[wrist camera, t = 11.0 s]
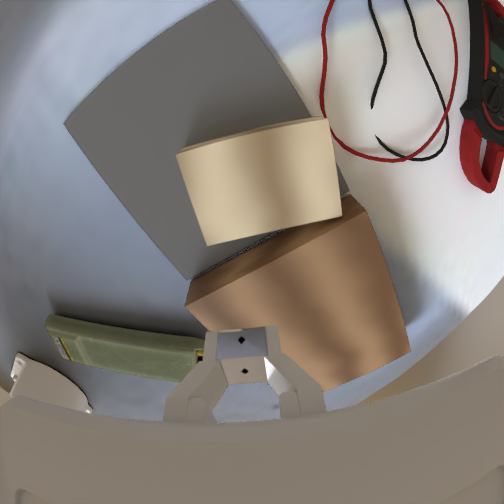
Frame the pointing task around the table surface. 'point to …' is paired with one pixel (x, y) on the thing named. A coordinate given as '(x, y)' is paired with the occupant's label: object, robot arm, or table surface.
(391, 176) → the table surface
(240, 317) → the platform
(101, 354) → the handheld radio
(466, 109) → the digital clamp meter
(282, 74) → the mat
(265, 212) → the tile
